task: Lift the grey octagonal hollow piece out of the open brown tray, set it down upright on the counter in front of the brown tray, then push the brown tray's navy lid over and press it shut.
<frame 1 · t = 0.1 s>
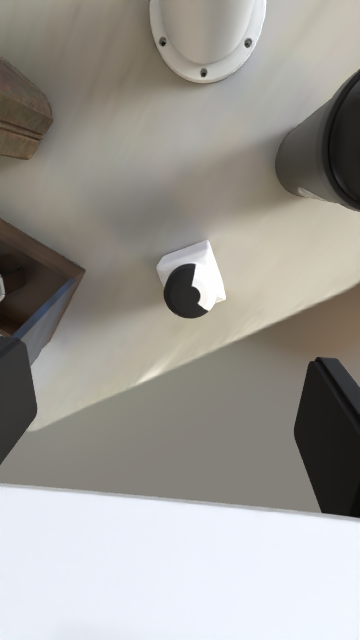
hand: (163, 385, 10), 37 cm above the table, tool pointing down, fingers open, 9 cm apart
grey octagonal hollow piece: (4, 274, 48), point 1 cm above the table, touching brown tray
brown tray: (19, 280, 49), on the table
lid: (27, 349, 38), point 13 cm above the table, hinge at 95.0°
water bottle: (308, 160, 40), on the table
medicine bottle: (192, 270, 46), on the table
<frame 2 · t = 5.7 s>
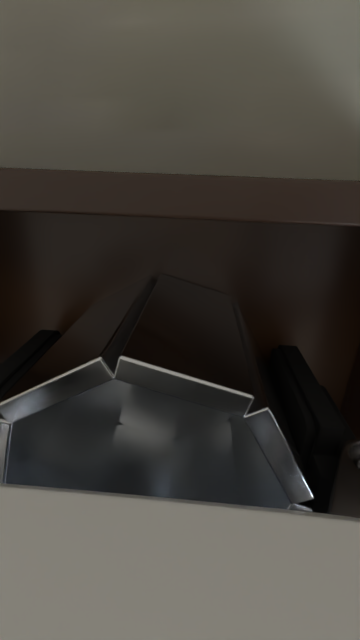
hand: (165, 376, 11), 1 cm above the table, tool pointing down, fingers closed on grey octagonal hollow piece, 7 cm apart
grey octagonal hollow piece: (168, 366, 12), point 1 cm above the table, touching brown tray, gripper
brown tray: (169, 397, 13), on the table
when the fingers open (1 cm above the table, at t = 14.3 s): grey octagonal hollow piece stays where it is, on the table.
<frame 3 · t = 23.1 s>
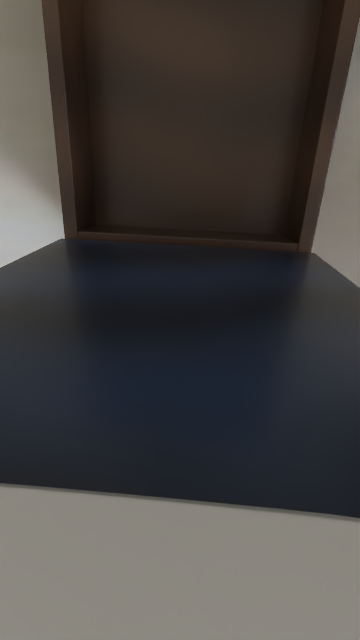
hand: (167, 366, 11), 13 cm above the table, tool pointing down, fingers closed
brown tray: (195, 102, 19), on the table
lid: (169, 314, 10), point 13 cm above the table, hinge at 93.0°, touching gripper
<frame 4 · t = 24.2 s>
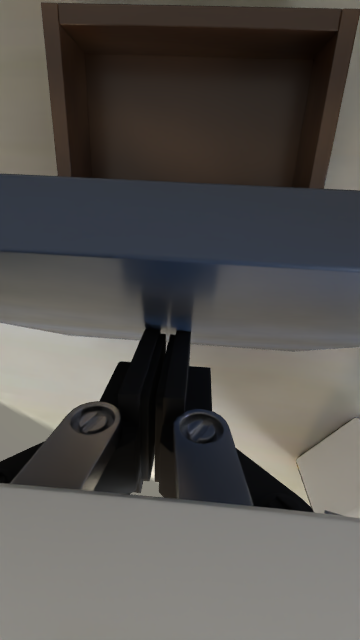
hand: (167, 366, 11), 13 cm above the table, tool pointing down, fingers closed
brown tray: (190, 198, 21), on the table
lid: (170, 321, 12), point 12 cm above the table, hinge at 60.2°, touching gripper
medicine bottle: (348, 456, 29), on the table
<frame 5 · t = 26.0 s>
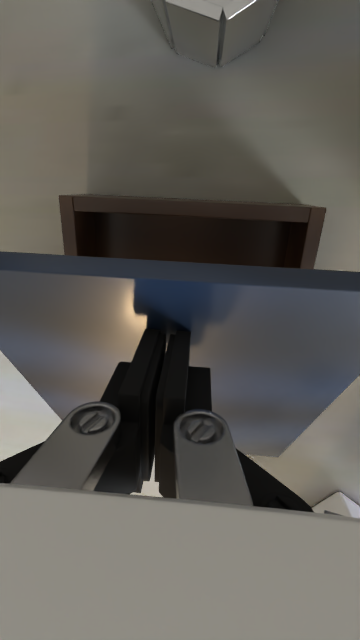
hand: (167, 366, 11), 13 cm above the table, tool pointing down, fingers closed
brown tray: (186, 314, 24), on the table
lid: (175, 393, 16), point 9 cm above the table, hinge at 30.2°, touching gripper
medicine bottle: (332, 522, 32), on the table
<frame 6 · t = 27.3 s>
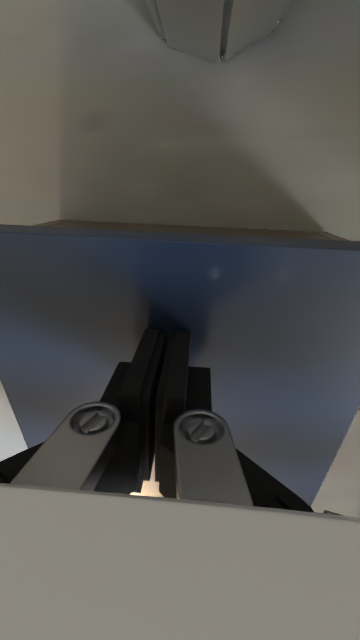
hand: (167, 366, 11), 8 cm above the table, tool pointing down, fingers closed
brown tray: (183, 359, 20), on the table
lid: (174, 423, 14), point 6 cm above the table, hinge at 10.6°, touching gripper
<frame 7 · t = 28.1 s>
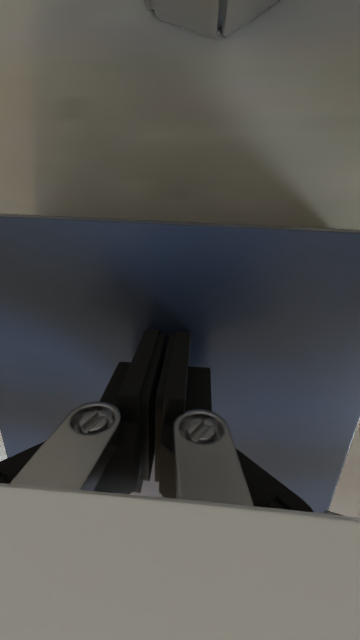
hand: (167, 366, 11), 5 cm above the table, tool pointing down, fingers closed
lid: (169, 433, 13), point 5 cm above the table, hinge at 1.2°, touching gripper
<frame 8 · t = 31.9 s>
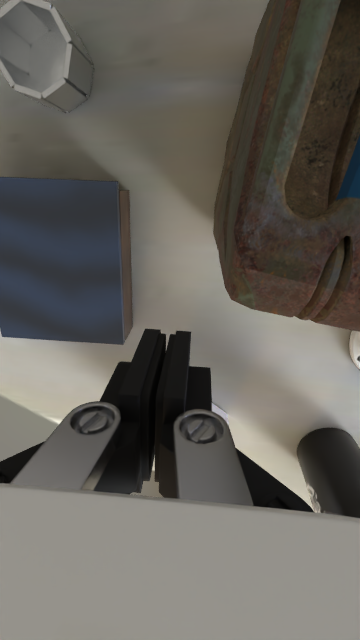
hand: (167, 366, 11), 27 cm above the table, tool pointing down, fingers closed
grey octagonal hollow piece: (59, 71, 31), on the table
brown tray: (72, 261, 38), on the table
lid: (54, 267, 34), point 5 cm above the table, hinge at 1.1°
canister: (265, 152, 32), on the table
water bottle: (325, 449, 47), on the table
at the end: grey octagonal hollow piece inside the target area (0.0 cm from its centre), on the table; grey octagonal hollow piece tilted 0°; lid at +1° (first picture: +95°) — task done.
